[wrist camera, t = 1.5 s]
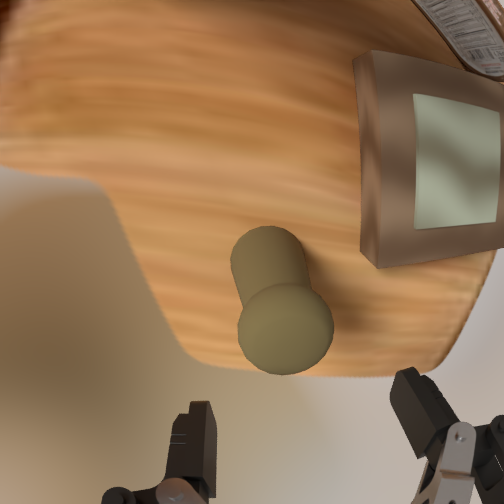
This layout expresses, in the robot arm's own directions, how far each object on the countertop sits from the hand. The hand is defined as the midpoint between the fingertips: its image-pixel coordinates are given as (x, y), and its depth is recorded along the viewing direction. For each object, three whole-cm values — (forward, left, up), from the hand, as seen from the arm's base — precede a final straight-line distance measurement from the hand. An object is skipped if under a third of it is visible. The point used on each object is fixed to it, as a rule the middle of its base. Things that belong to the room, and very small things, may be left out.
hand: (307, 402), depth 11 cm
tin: (-22, +18, -15) cm, 32 cm away
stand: (-8, +16, -14) cm, 23 cm away
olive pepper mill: (0, 0, -15) cm, 15 cm away
